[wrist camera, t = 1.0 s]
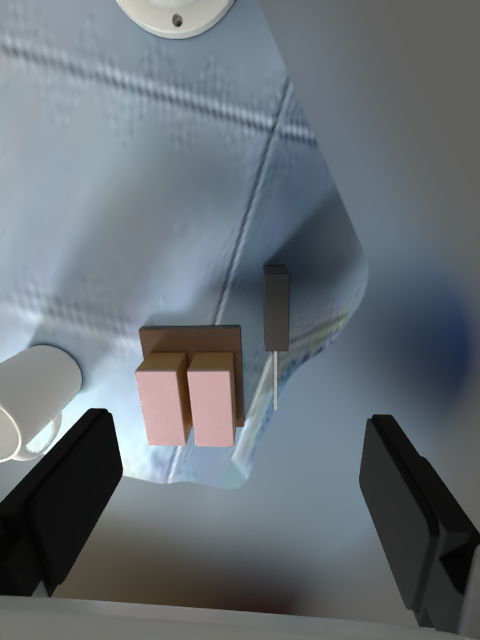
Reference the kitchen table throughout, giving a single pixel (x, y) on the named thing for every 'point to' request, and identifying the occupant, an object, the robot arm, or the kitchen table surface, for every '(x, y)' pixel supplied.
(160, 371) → the block
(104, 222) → the kitchen table surface
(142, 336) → the cake board
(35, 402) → the mug
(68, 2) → the kitchen table surface
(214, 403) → the cake slice
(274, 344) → the dark block with blade
